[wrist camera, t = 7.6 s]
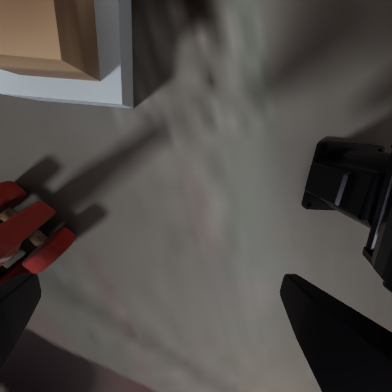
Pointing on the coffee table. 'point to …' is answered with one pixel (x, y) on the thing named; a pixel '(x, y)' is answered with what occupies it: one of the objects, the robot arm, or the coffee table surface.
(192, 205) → the coffee table surface
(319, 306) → the robot arm
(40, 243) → the toy fire truck
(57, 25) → the walnut cube
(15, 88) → the base block
